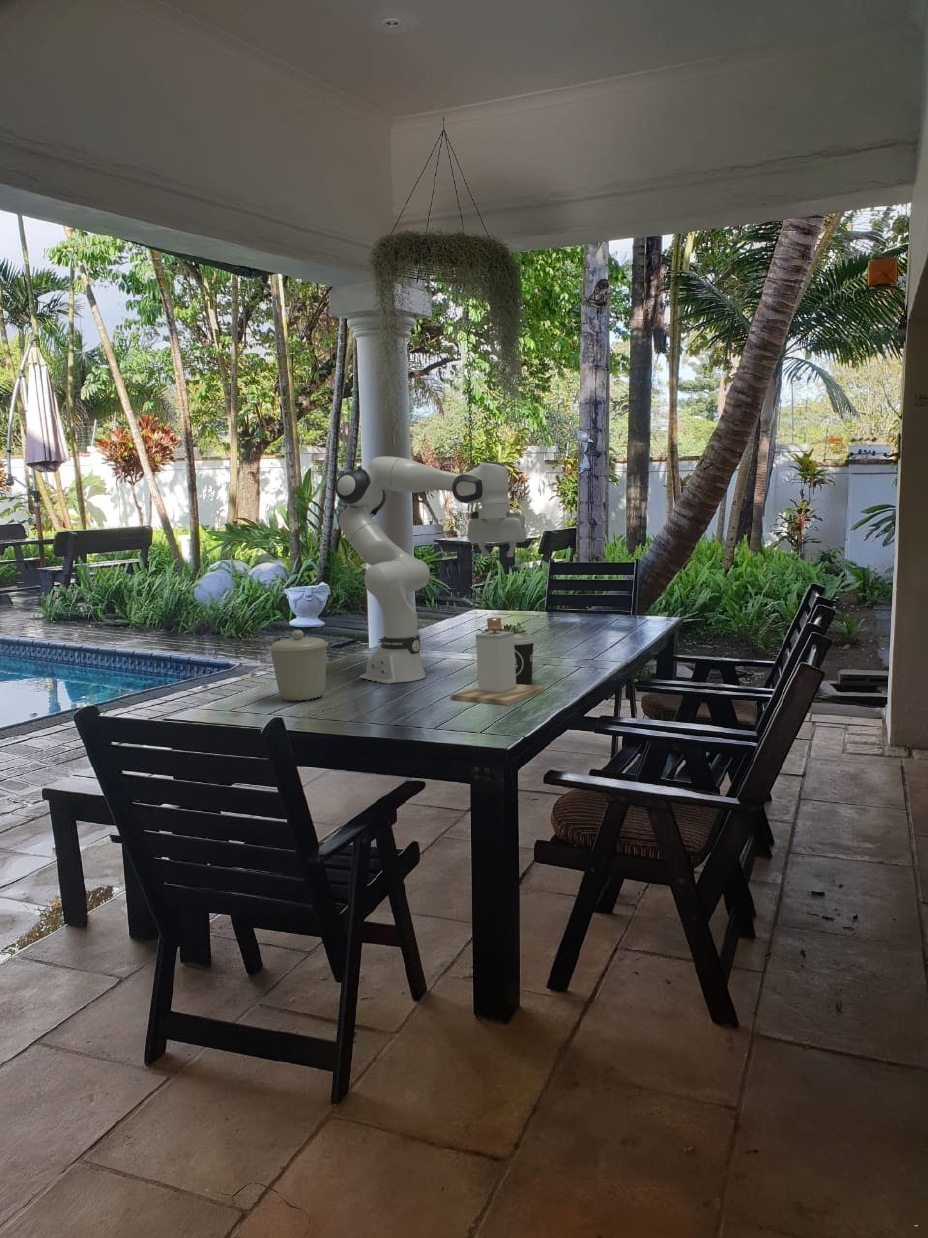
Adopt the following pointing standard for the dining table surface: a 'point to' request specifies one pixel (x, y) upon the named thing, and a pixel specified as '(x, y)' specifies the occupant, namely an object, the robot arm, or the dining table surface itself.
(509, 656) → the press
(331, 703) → the dining table surface
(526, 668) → the coffee cup
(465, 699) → the board
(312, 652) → the canister
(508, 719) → the dining table surface
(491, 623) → the plunger
